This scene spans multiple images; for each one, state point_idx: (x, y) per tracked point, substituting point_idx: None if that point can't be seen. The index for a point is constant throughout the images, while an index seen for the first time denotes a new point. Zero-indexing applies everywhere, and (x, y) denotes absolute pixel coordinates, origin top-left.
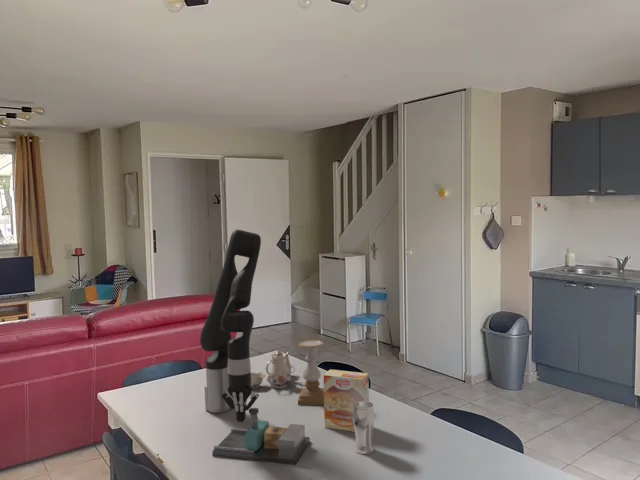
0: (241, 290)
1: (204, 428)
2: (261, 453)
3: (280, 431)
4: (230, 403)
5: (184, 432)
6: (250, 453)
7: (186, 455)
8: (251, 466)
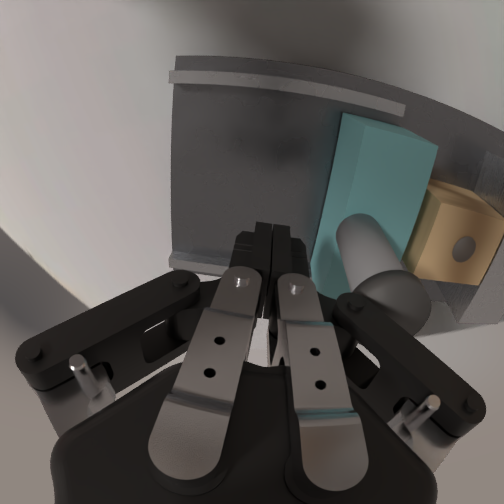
0: None
1: (45, 49)
2: None
3: (480, 258)
4: (161, 364)
5: (5, 107)
6: None
7: (96, 260)
8: None
